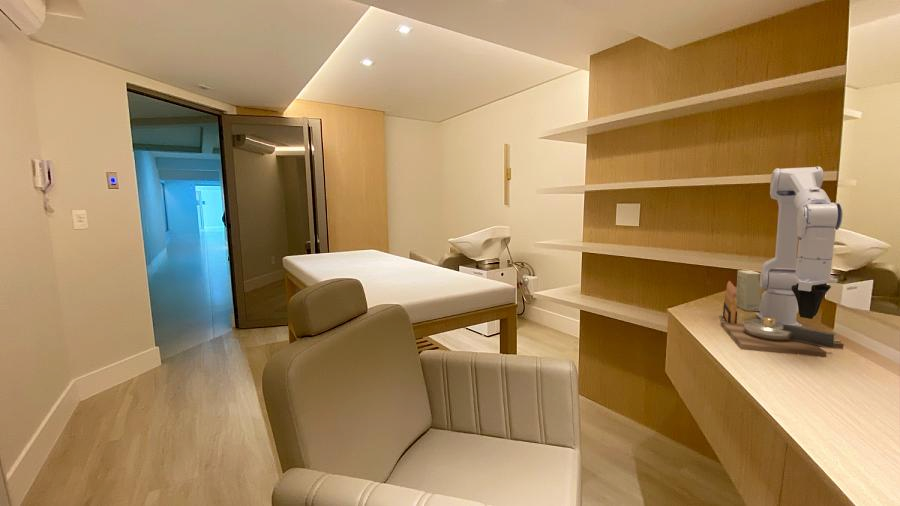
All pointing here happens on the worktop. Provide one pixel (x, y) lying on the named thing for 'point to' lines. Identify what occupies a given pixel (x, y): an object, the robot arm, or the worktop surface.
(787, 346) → the walnut stand
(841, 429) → the worktop surface
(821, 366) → the worktop surface
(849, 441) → the worktop surface
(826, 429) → the worktop surface
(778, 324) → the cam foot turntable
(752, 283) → the skincare box
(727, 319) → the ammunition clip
